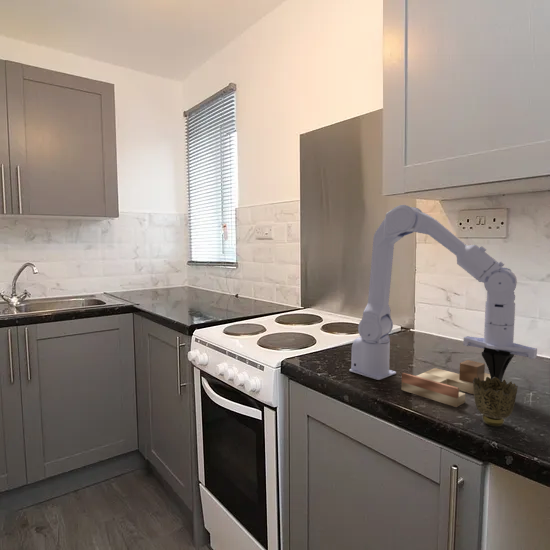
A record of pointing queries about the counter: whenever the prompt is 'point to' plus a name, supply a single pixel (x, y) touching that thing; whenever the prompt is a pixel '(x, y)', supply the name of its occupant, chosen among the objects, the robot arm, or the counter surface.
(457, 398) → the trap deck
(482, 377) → the walnut cube
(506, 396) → the cup
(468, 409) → the counter surface
